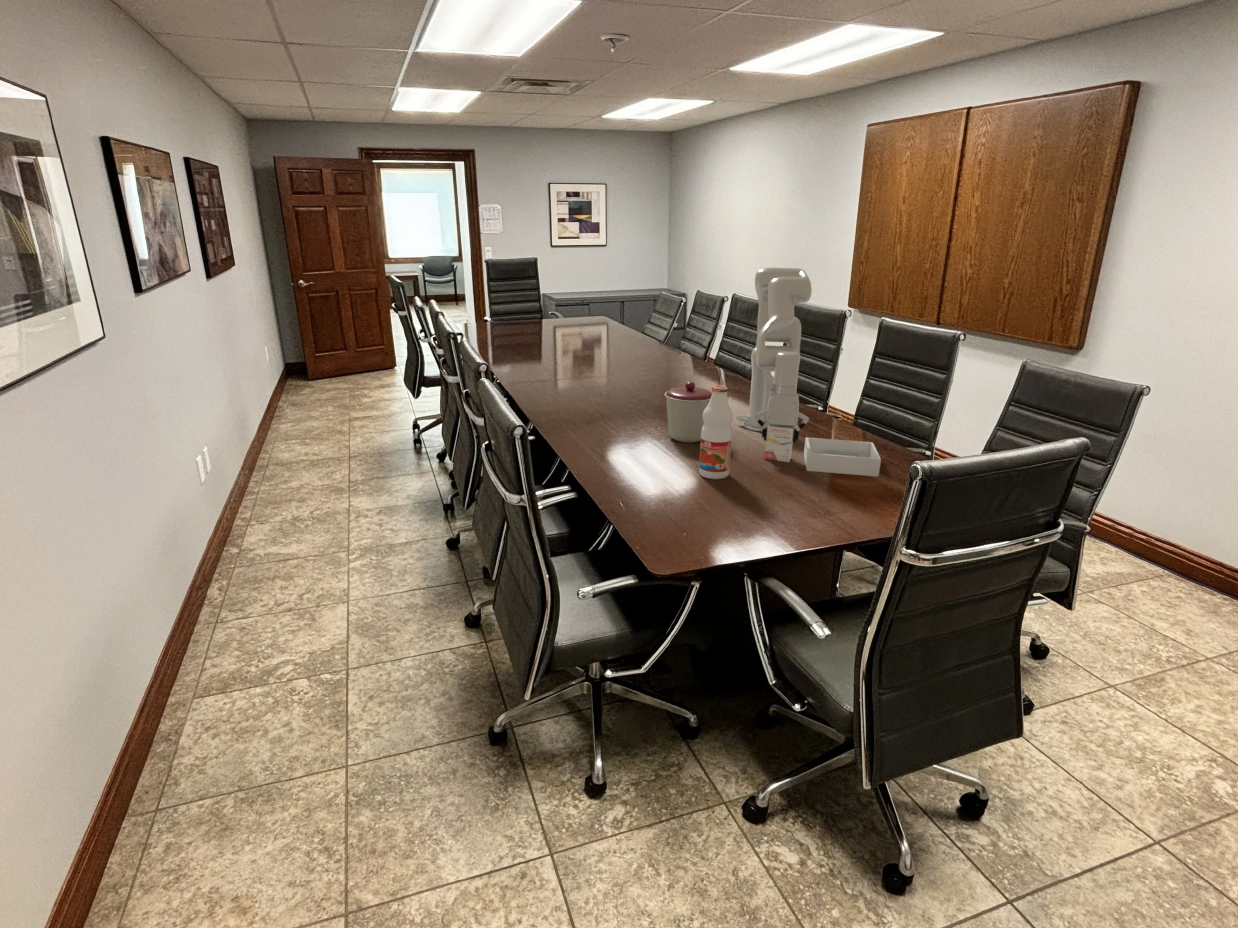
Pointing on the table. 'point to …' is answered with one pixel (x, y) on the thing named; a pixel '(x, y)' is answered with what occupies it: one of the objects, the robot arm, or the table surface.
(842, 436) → the table surface
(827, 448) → the tray
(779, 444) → the ink cartridge box
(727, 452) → the fruit juice
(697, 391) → the canister
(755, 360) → the robot arm
